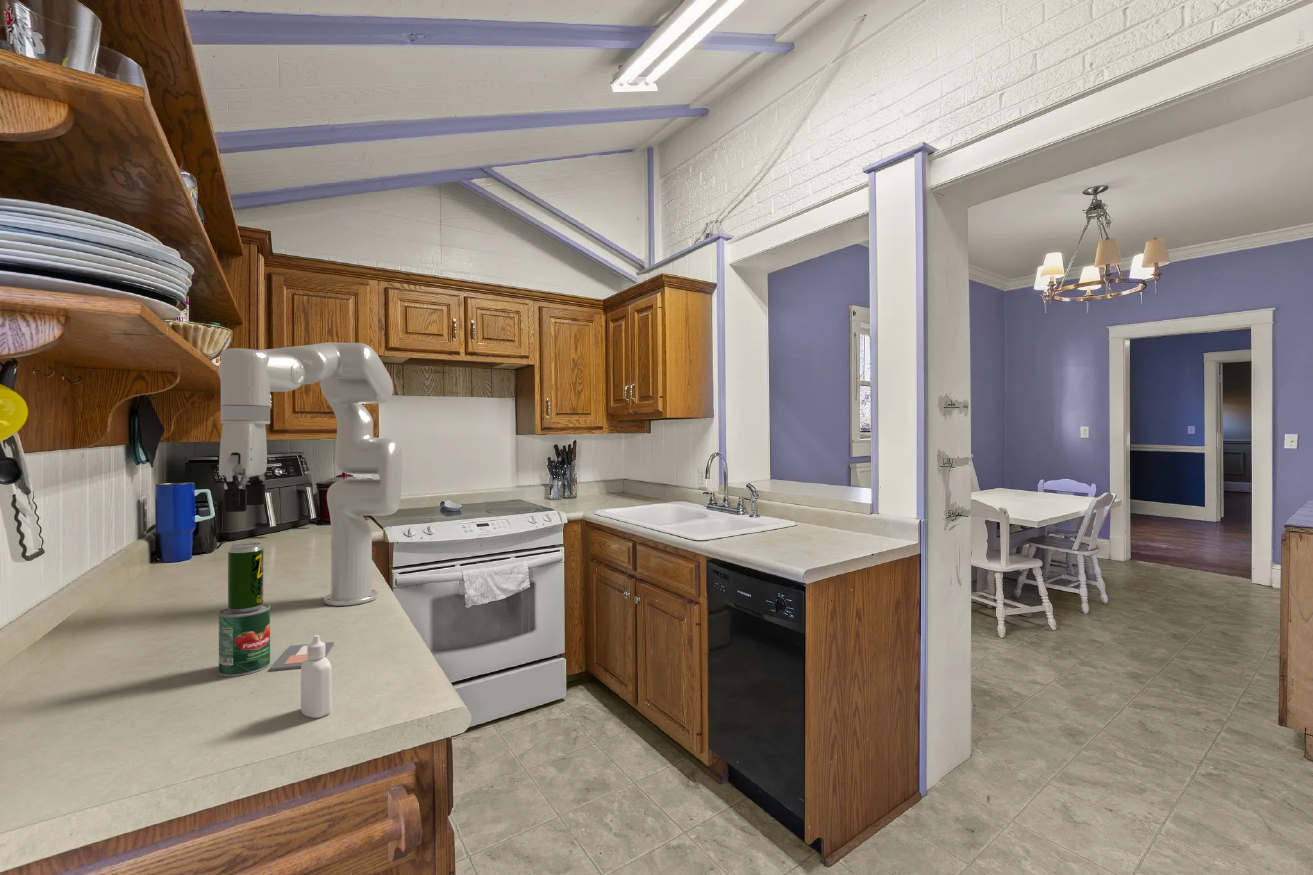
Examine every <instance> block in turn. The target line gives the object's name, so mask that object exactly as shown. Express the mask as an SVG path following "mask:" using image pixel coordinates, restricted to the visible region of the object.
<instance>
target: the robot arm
mask: <svg viewBox="0 0 1313 875" xmlns="http://www.w3.org/2000/svg"><path fill="white" fill-rule="evenodd" d="M217 371H218V378H219V379H220V424H222V428H221V434H220V443H219V444H220V445H219V457H218V458H219V460H218V461H219V462H218V475H219V476H220V477H221V478H222V479H223V481H224V484H223V488H224V489H223V490H224V512H226V513H235V512H236V513H238V512H239V513H242V512H245V511H247V509H248V508H247V507H248V506H262V505H265V504H266V477H265V475H266V472H267V466H268V449H267V448H268V446H267V430H266V425H270V424H271V393H272V392H273V393H277V392H278V393H283V392H285V393H287V392H291V391H295V390H297V389H299V388H300V387H301V386H302V385H312V384H316V383H319V384H320V385H319V387H320V389H321V393H322V395H323V397H324V399H326V401H327V402H328V404H329V406H330V407H331V409H332V410H333V413H334V416H335V417H336V418H335V419H336V425H337V426H336V446H335V465H336V467H337V469H338V471H339V472H341V473H344V474H349V475H378V477H379V479H378V478H377V479H373V478H372V479H367V478H366V479H365V478H361V479H360V478H349V479H346V478H345V479H341V480H337V481H335V482H333V483H332V484H331V485H330V486H329V487H328V489H327V491H326V492H327V493H326V501H327V502H326V503H327V508H328V512H329V518H330V533H331V534H330V536H331V537H330V538H331V539H330V593H328V594H327V595H325V596H324V598H323V603H324V604H326V605H328V606H334V607H335V606H339V607H341V606H342V607H343V606H345V607H346V606H354V605H360V604H364V603H365V604H366V603H368V602H371V601H375V600H376V599H377V598H378V597H379V592H378V591H377V590H376V589H373V588H372V582H373V581H372V580H373V578H372V576H373V575H372V573H373V567H372V563H373V562H372V561H373V554H372V552H373V546H372V545H373V542H372V541H373V533H372V528H371V526H370V524H369V523H368V521H367V520H366V518H365V516H366V517H367V516H371V517H372V516H373V517H375V516H377V517H378V516H391V515H393V514H395V513H397V511H398V510H399V508H400V505H401V504H400V503H401V496H402V473H403V472H402V471H403V455H402V449H401V446H400V445H399V443H398V442H397V441H396V440H394V439H392V438H387V437H385V438H384V437H383V438H378V437H377V438H374V420H373V417H372V415H371V414H370V412H369V411H368V410H367V408H366V407H365V406H364V404H367V405H368V404H374V405H375V404H379V405H380V404H385V403H387V402H388V401H389V400H391V399H392V396H393V394H394V384H393V381H392V380H393V379H392V378H391V375H390V373H389V372H388V370H387V369H386V366H385V365H384V363H383V362H382V360H381V358H380V357H379V355H378V354H377V351H375V350H374V349H373V348H372V347H371V346H370V345H368V344H366V343H364V342H334V341H332V342H329V341H328V342H321V343H314V344H305V345H297V346H294V345H293V346H286V347H279V348H269V349H268V348H267V349H251V348H241V347H240V348H238V347H237V348H236V347H235V348H228V349H224V350H223V351H222V353H221V355H220V363H219V365H218V370H217ZM246 483H247V484H246Z"/></svg>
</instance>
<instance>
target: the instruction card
mask: <svg viewBox="0 0 1313 875" xmlns="http://www.w3.org/2000/svg"><path fill="white" fill-rule="evenodd" d="M324 643H325V657H326V658H327V655H328V654H329V653H330V652H331V649H332V648H333V646H334V645H335V641H330V642H329V641H328V642H327V641H326V642H324ZM309 644H310V643H306V644H297V645H295V644H293V645H289V646H288V647H287V649H286V650H284V652H283V653H282V654H281V656H280V657H279V658H278V659H277V660H276V661H275V662H274V664H273V665H272V666H271V667H270V672H276V671H283V670H284V671H285V670H286V669H287V670H296V669H297V670H298V669H301V665H302V663H303V661H305V660H306V659H307V648H308V645H309Z"/></svg>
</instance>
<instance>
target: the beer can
mask: <svg viewBox="0 0 1313 875" xmlns="http://www.w3.org/2000/svg"><path fill="white" fill-rule="evenodd" d="M262 545H263V543H262V542H259V541H256V542H255V541H251V542H247V541H246V542H239V543H234V544H230V545H229V549H228V551H227V608H229V610H230V612H232V613H243V612H250V611H254V610H257V609H259V608H261V606H262V604H264V547H263V546H262Z"/></svg>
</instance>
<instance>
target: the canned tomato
mask: <svg viewBox="0 0 1313 875" xmlns="http://www.w3.org/2000/svg"><path fill="white" fill-rule="evenodd" d="M270 665H271V605H270V604H267V603H263V604H262V606H261V608H259V609H257V610H254V611H250V612H243V613H232V612H230V610H229V608H228V607H227V608H223V609H222V610H220V611H219V612H218V674H219V675H220V676H222V677H228V678H231V677H232V678H233V677H242V676H246V675H251V674H252V675H253V674H254V673H258V672H260V671H263V670H265V669H267V668H268V667H269V666H270Z"/></svg>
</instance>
